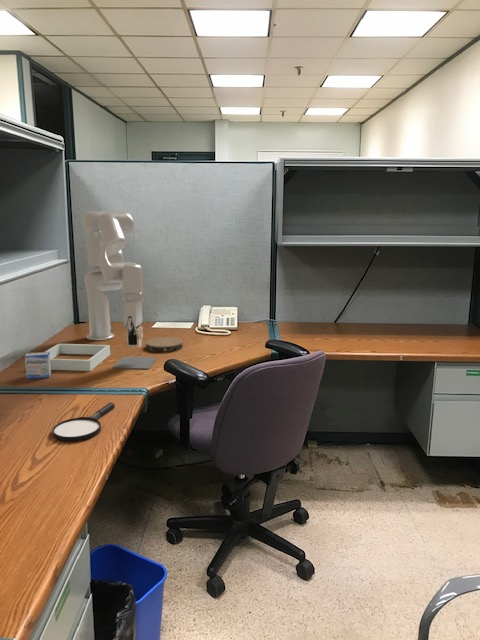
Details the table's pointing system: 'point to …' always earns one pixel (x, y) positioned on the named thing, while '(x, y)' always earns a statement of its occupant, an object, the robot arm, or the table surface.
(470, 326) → the table surface
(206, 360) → the table surface
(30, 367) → the medicine box
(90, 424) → the magnifying glass
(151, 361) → the mat
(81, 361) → the white shallow tray
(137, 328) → the maple block
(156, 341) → the tambourine
